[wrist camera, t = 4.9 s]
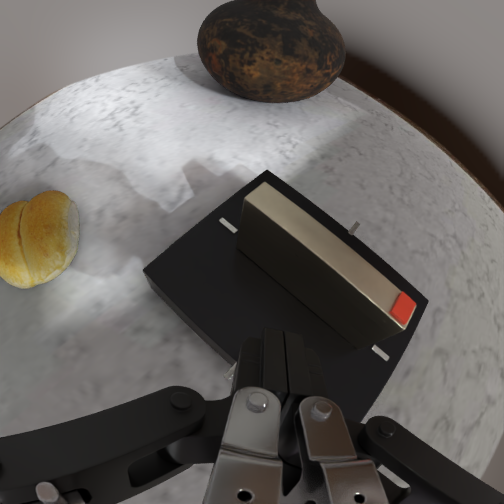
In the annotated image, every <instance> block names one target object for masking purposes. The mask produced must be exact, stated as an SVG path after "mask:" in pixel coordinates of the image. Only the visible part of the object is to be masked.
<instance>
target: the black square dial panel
mask: <svg viewBox="0 0 504 504" xmlns="http://www.w3.org/2000/svg"><path fill="white" fill-rule="evenodd" d="M264 182H266V183H268V184H269V185H270V186H272V187H273V188H274V189H276V190H277V191H278V192H280V193H281V194H282V195H284V196H285V197H286V198H288V199H289V200H290V201H292V202H293V203H294V204H296V205H297V206H298V207H300V208H301V209H302V210H304V211H305V212H306V213H307V214H309V215H310V216H311V217H313V218H314V219H315V220H316V221H318V222H319V223H320V224H322V225H323V226H324V227H325V228H327V229H328V230H329V231H330V232H332V233H333V234H334V235H335V236H337V237H338V238H339V239H340V240H342V241H343V242H344V243H345V244H346V245H348V246H349V247H350V248H351V249H353V250H354V251H355V252H356V253H357V254H359V255H360V256H361V257H362V258H363V259H365V260H366V261H367V262H368V263H369V264H370V265H372V266H373V267H374V268H375V269H376V270H377V271H379V272H380V273H381V274H382V275H383V276H384V277H386V278H387V279H388V280H389V281H390V282H391V283H392V284H394V285H395V286H396V287H397V288H398V289H399V290H400V291H401V292H402V291H403V292H404V293H405V294H406V295H407V296H409V297H410V298H411V299H412V300H413V301H414V302H415V303H416V305H417V306H416V308H415V310H414V312H413V314H412V317H411V319H410V321H409V323H408V324H407V326H406V328H405V330H403V331H401V332H399V333H396V334H394V335H392V336H390V337H387V338H385V339H383V340H381V341H378V342H376V343H373V344H371V345H369V346H366V347H364V348H361V349H357V348H356V347H355V346H353V345H352V344H351V343H350V342H349V341H347V340H346V339H345V338H344V337H343V336H341V335H340V334H339V333H338V332H337V331H335V330H334V329H333V328H332V327H331V326H329V325H328V324H327V323H326V322H325V321H323V320H322V319H321V318H320V317H319V316H317V315H316V314H315V313H314V312H313V311H311V310H310V309H309V308H308V307H307V306H306V305H304V304H303V303H302V302H301V301H300V300H298V299H297V298H296V297H295V296H294V295H292V294H291V293H290V292H289V291H288V290H287V289H285V288H284V287H283V286H282V285H281V284H279V283H278V282H277V281H276V280H275V279H273V278H272V277H271V276H270V275H269V274H268V273H266V272H265V271H264V270H263V269H262V268H260V267H259V266H258V265H257V264H256V263H255V262H253V261H252V260H251V259H250V258H249V257H247V256H246V255H245V254H244V253H243V252H242V251H240V250H239V249H238V248H237V247H236V244H237V238H238V232H239V227H240V221H241V215H242V209H243V203H244V198H245V197H246V196H247V195H248V194H250V193H251V192H252V191H253V190H255V189H256V188H257V187H258V186H260V185H261V184H262V183H264ZM359 225H360V224H359V223H358V222H357V221H356V223H355V224H354V225H353V227H352V228H351V229H350V230H349V231H348V230H347V229H346V228H344V227H343V226H342V225H341V224H339V223H338V222H337V221H335V220H334V219H333V218H332V217H330V216H329V215H328V214H327V213H325V212H324V211H323V210H321V209H320V208H319V207H317V206H316V205H315V204H314V203H312V202H311V201H310V200H308V199H307V198H306V197H304V196H303V195H302V194H300V193H299V192H298V191H296V190H295V189H293V188H292V187H291V186H289V185H288V184H287V183H285V182H284V181H282V180H281V179H280V178H278V177H277V176H276V175H274V174H273V173H271V172H270V171H268V170H266V171H264V172H263V173H262V174H260V175H259V176H258V177H256V178H255V179H254V180H252V181H251V182H250V183H248V184H247V185H246V186H244V187H243V188H242V189H241V190H239V191H238V192H237V193H235V194H234V195H233V196H231V197H230V198H229V199H228V200H226V201H225V202H224V203H223V204H221V205H220V206H219V207H218V208H216V209H215V210H214V211H212V212H211V213H210V214H209V215H207V216H206V217H205V218H204V219H203V220H201V221H200V222H199V223H198V224H196V225H195V226H194V227H193V228H191V229H190V230H189V231H188V232H187V233H185V234H184V235H183V236H182V237H181V238H179V239H178V240H177V241H176V242H175V243H173V244H172V245H171V246H170V247H169V248H167V249H166V250H165V251H164V252H163V253H162V254H160V255H159V256H158V257H157V258H156V259H155V260H153V261H152V262H151V263H150V264H149V265H148V266H147V267H145V268H144V269H143V272H144V274H145V276H146V278H147V280H148V282H149V284H150V286H151V288H152V289H153V290H154V291H155V292H156V293H157V294H158V295H159V296H160V297H161V298H162V299H163V300H164V302H165V303H166V304H167V305H168V306H169V307H170V308H171V309H172V310H173V311H174V312H175V313H176V314H177V315H178V316H179V317H180V318H181V319H182V320H183V321H184V322H185V323H186V324H187V325H188V326H189V327H191V328H192V329H193V330H194V331H195V332H196V333H197V334H198V335H199V336H200V337H201V338H202V339H203V340H204V341H205V342H206V343H207V344H208V345H210V346H211V347H212V348H213V349H214V350H215V351H216V352H217V353H218V354H219V355H220V356H222V357H223V358H224V359H225V360H226V361H227V362H228V363H229V364H230V365H232V367H231V368H230V369H229V370H228V372H227V373H226V374H225V375H224V377H225V378H226V379H227V380H229V379H230V378H231V377H232V376H233V375H234V371H235V367H236V363H237V360H238V356H239V352H240V349H241V345H242V342H243V341H244V340H245V339H247V338H248V337H253V338H258V339H260V337H261V334H262V331H263V328H264V327H266V328H271V329H276V330H281V331H286V332H291V333H296V334H301V335H302V337H303V342H304V347H305V348H310V349H313V351H314V352H315V353H316V354H317V356H318V357H319V359H320V363H321V368H322V372H323V376H324V380H325V384H326V388H327V393H328V397H329V400H331V401H333V402H334V403H335V404H337V405H338V406H339V408H340V409H341V412H342V414H343V417H344V418H346V419H349V420H352V421H355V422H359V423H361V421H362V420H363V418H364V417H365V416H366V414H367V413H368V411H369V410H370V408H371V407H372V405H373V404H374V402H375V401H376V399H377V397H378V396H379V394H380V393H381V391H382V390H383V388H384V386H385V385H386V383H387V381H388V380H389V378H390V376H391V375H392V373H393V371H394V369H395V368H396V366H397V364H398V362H399V360H400V359H401V357H402V355H403V353H404V351H405V349H406V347H407V346H408V344H409V342H410V340H411V338H412V336H413V334H414V332H415V330H416V328H417V326H418V323H419V321H420V319H421V317H422V315H423V313H424V310H425V308H426V306H427V304H428V300H427V299H426V298H425V297H424V296H423V295H422V294H421V293H420V292H419V291H418V290H417V289H416V288H414V287H413V286H412V285H411V284H410V283H409V282H408V281H407V280H406V279H404V278H403V277H402V276H401V275H400V274H399V273H398V272H397V271H395V270H394V269H393V268H392V267H391V266H390V265H389V264H387V263H386V262H385V261H384V260H383V259H382V258H381V257H379V256H378V255H377V254H376V253H375V252H373V251H372V250H371V249H370V248H369V247H367V246H366V245H365V244H364V243H363V242H361V241H360V240H359V239H358V238H357V237H355V236H354V235H353V233H354V232H355V231H356V229H357V228H358V227H359Z"/></svg>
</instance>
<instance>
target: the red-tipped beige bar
mask: <svg viewBox="0 0 504 504" xmlns="http://www.w3.org/2000/svg"><path fill="white" fill-rule="evenodd" d="M236 247H237V248H238V249H239V250H240V251H242V252H243V253H244V254H245V255H246V256H247V257H249V258H250V259H251V260H252V261H253V262H255V263H256V264H257V265H258V266H259V267H260V268H262V269H263V270H264V271H265V272H266V273H268V274H269V275H270V276H271V277H272V278H273V279H275V280H276V281H277V282H278V283H279V284H281V285H282V286H283V287H284V288H285V289H287V290H288V291H289V292H290V293H291V294H292V295H294V296H295V297H296V298H297V299H298V300H300V301H301V302H302V303H303V304H304V305H306V306H307V307H308V308H309V309H310V310H311V311H313V312H314V313H315V314H316V315H317V316H319V317H320V318H321V319H322V320H323V321H325V322H326V323H327V324H328V325H329V326H331V327H332V328H333V329H334V330H335V331H337V332H338V333H339V334H340V335H341V336H343V337H344V338H345V339H346V340H347V341H349V342H350V343H351V344H352V345H353V346H355V347H356V348H357V349H361V348H364V347H366V346H369V345H371V344H373V343H376V342H378V341H381V340H383V339H385V338H387V337H390V336H392V335H394V334H396V333H399V332H401V331H403V330H405V328H406V326H407V324H408V323H409V321H410V319H411V317H412V314H413V312H414V310H415V308H416V306H417V305H416V303H415V302H414V301H413V300H412V299H411V298H410V297H409V296H407V295H406V294H405V293H404V292H403V291H402V292H401V291H400V290H399V289H398V288H397V287H396V286H395V285H394V284H392V283H391V282H390V281H389V280H388V279H387V278H386V277H384V276H383V275H382V274H381V273H380V272H379V271H377V270H376V269H375V268H374V267H373V266H372V265H370V264H369V263H368V262H367V261H366V260H365V259H363V258H362V257H361V256H360V255H359V254H357V253H356V252H355V251H354V250H353V249H351V248H350V247H349V246H348V245H346V244H345V243H344V242H343V241H342V240H340V239H339V238H338V237H337V236H335V235H334V234H333V233H332V232H330V231H329V230H328V229H327V228H325V227H324V226H323V225H322V224H320V223H319V222H318V221H316V220H315V219H314V218H313V217H311V216H310V215H309V214H307V213H306V212H305V211H304V210H302V209H301V208H300V207H298V206H297V205H296V204H294V203H293V202H292V201H290V200H289V199H288V198H286V197H285V196H284V195H282V194H281V193H280V192H278V191H277V190H276V189H274V188H273V187H272V186H270V185H269V184H268V183H266V182H264V183H262V184H261V185H260V186H258V187H257V188H256V189H255V190H253V191H252V192H251V193H250V194H248V195H247V196H246V197H245V198H244V203H243V209H242V215H241V221H240V227H239V232H238V238H237V244H236Z"/></svg>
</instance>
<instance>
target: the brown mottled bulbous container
mask: <svg viewBox="0 0 504 504" xmlns="http://www.w3.org/2000/svg"><path fill="white" fill-rule="evenodd" d="M197 46H198V52H199V55H200V58H201V61H202V63H203V64H204V66H205V68H206V69H207V71H208V72H209V73H210V74H211V76H212V77H213V78H214V79H215V80H216V81H217V82H218V83H220V84H221V85H222V86H223V87H225V88H227V89H228V90H230V91H231V92H233V93H235V94H237V95H240V96H242V97H245V98H249V99H252V100H257V101H262V102H271V103H286V102H287V103H288V102H295V101H300V100H304V99H307V98H310V97H312V96H314V95H316V94H318V93H320V92H321V91H323V90H324V89H326V88H327V87H328V86H330V85H331V84H332V83H333V82H334V81H335V79H336V78H337V77H338V75H339V74H340V72H341V70H342V68H343V66H344V62H345V52H346V51H345V45H344V41H343V38H342V36H341V34H340V32H339V31H338V29H337V28H336V26H335V25H334V24H333V23H332V22H331V21H330V20H329V19H328V18H327V17H325V16H324V15H323V14H322V13H321V12H320V10H319V9H318V7H317V4H316V0H234V1H230V2H227V3H225V4H223V5H221V6H219V7H217V8H216V9H215V10H213V11H212V12H211V13H210V14H209V15H208V16H207V17H206V18H205V20H204V21H203V23H202V25H201V27H200V30H199V33H198V38H197Z"/></svg>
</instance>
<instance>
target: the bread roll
mask: <svg viewBox="0 0 504 504" xmlns="http://www.w3.org/2000/svg"><path fill="white" fill-rule="evenodd" d="M78 239H79V213H78V209H77V205H76V203H75V202H74V201H71V200H70V198H69V197H68V196H67V195H66V194H64V193H62V192H59V191H54V190H53V191H45V192H42V193H40V194H38V195H37V196H35V197H34V198H32V199H31V200H30V201H29V202H28V201H18V202H15V203H13V204H11V205H9V206H8V207H6V208H5V209H4V210H3V212H2V213H1V214H0V276H1V277H2V278H3V279H4V280H5V281H6V282H8V283H9V284H11V285H13V286H15V287H18V288H23V289H27V288H32V287H34V286H35V285H37V284H43V283H47V282H49V281H51V280H53V279H54V278H56V277H57V276H59V275H60V274H61V273H62V272H63V271H64V270H65V269H66V268H67V267H68V266H69V265H70V263H71V262H72V260H73V258H74V256H75V254H76V252H77V250H78Z"/></svg>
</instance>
